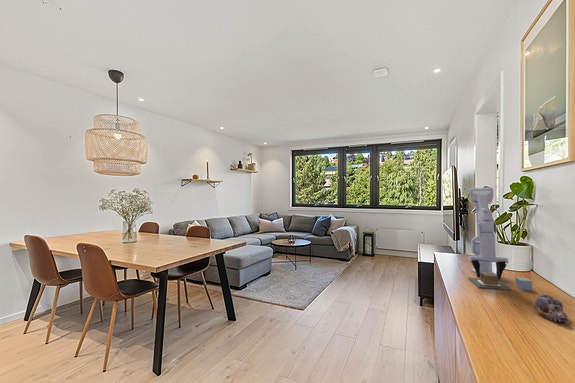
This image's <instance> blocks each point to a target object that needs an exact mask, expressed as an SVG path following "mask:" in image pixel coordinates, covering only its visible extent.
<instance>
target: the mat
mask: <svg viewBox="0 0 575 383" xmlns="http://www.w3.org/2000/svg"><path fill="white" fill-rule="evenodd" d="M468 280H470V282H471V283H472V284H473V285H474V286H475V287H476V288H477V289H481V290H482V289H483V290H485V289H486V290H494V291H495V290H498V291H509V292H513V289H512V288H510V287H509V286H508V285H507V284H505V283H504V282H502V281H501V279H498V285H489V284H484V283H483V282H481V279H480V278H478V277H468Z"/></svg>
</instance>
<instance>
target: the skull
mask: <svg viewBox="0 0 575 383" xmlns="http://www.w3.org/2000/svg"><path fill="white" fill-rule="evenodd" d="M533 304H534V306H533V307H534V309H535V310H537V311H538V312H539V313H540V314H542V315H543V316H545V318H547V319H549V320H551V321H553V320H554V322H555V323H556V322H557V321H558V322H560V323H562V322H563V323H565V324H566V326H568V324H569V322H568V321H569V319H568V315H567V313H565V312H564V306H563V304H562V302H561V301H560V300H558V299H557V298H555V297H552V296H551V295H548V294H541V295H538V296H537V297H536V299H535V301H534V303H533Z"/></svg>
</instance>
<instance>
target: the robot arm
mask: <svg viewBox="0 0 575 383" xmlns="http://www.w3.org/2000/svg"><path fill="white" fill-rule="evenodd" d="M468 192H469V194H468V195H469V202H470V204H471V205H473V206H474V208H475V218H476V221H475V222H476V236H474V237H473V238H472V239H471V240H470V251H471V254H472V255H468V261H469V262H470V263H471V264H472V266H473V267H472V268H470V269H471V270H472V271H473V272H474V273H475V274H476V278H480V272H487V273H494V272H493V263H495V267H496V273H494V274H495V275H497V276H498V280H501V279H502V275H503V272H504V270H505V269H506V267H507V264H509V258H507V257H502V256H501V257H498V256H496V253H497V251H496V234H497V223H496V220H495V219H494V215H493V210H491V209H490V208H489V205H491V204H492V202H493V199H494V188H493V187H491V186H490V187H470V188H469V190H468Z"/></svg>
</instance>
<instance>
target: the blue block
mask: <svg viewBox="0 0 575 383" xmlns="http://www.w3.org/2000/svg"><path fill="white" fill-rule="evenodd" d="M515 287H516V288H517V289H518V290H522V291H531V290H532V291H533V281H532V280H530V279H529V278H524V277H515Z"/></svg>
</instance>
